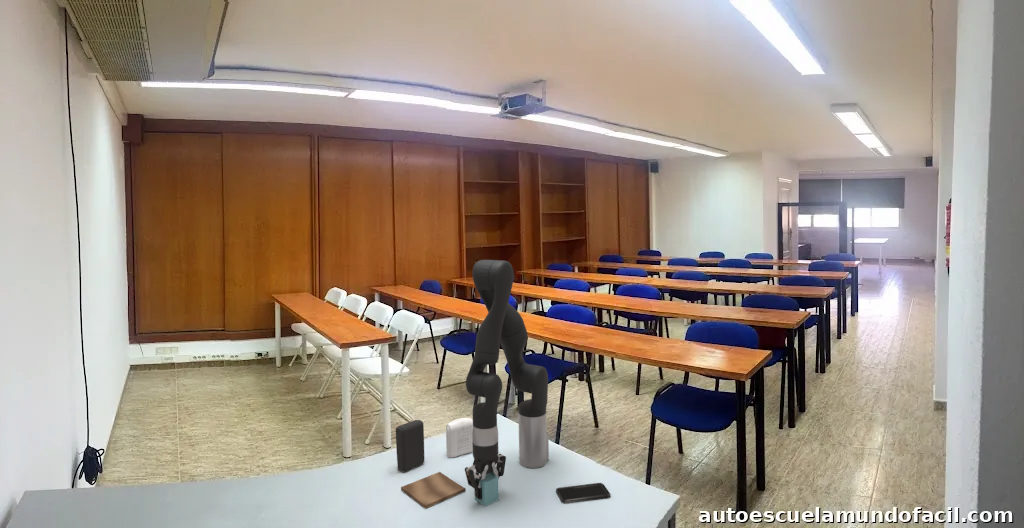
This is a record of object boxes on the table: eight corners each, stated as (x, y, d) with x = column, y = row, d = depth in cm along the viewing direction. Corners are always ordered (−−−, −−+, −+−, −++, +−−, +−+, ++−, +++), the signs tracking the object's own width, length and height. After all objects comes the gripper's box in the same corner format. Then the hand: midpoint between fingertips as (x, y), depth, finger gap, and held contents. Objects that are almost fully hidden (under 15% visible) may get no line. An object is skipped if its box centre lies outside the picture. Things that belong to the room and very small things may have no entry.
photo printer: (470, 447, 194) (469, 413, 193) (476, 451, 190) (475, 417, 189) (444, 454, 188) (443, 420, 187) (450, 459, 185) (449, 424, 183)
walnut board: (439, 474, 174) (439, 471, 174) (465, 491, 164) (465, 488, 164) (401, 490, 165) (401, 487, 165) (425, 508, 155) (425, 505, 154)
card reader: (419, 460, 185) (417, 417, 183) (426, 463, 182) (424, 421, 180) (396, 469, 178) (394, 426, 176) (403, 473, 175) (401, 429, 174)
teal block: (488, 493, 162) (487, 471, 162) (498, 499, 159) (498, 477, 158) (474, 499, 159) (474, 476, 158) (485, 506, 155) (484, 483, 155)
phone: (611, 495, 159) (562, 501, 156) (611, 499, 159) (562, 505, 156) (602, 482, 166) (555, 487, 163) (602, 485, 166) (555, 491, 163)
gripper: (496, 428, 164) (497, 482, 166) (457, 442, 155) (459, 498, 157) (512, 436, 159) (513, 491, 161) (473, 451, 150) (474, 509, 151)
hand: (486, 494), depth 159 cm, fingers closed on teal block, 5 cm apart
